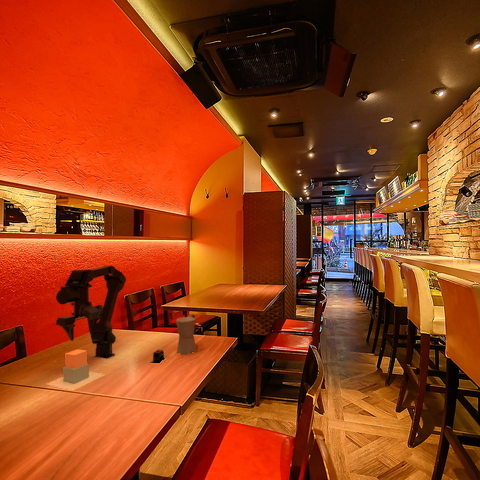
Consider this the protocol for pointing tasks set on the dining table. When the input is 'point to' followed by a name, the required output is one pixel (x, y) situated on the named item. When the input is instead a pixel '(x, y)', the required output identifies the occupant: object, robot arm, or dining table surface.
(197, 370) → the dining table surface
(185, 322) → the coffeepot
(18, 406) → the dining table surface
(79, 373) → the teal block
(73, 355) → the orange block
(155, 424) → the dining table surface
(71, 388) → the base plate
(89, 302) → the robot arm
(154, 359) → the dark piece
